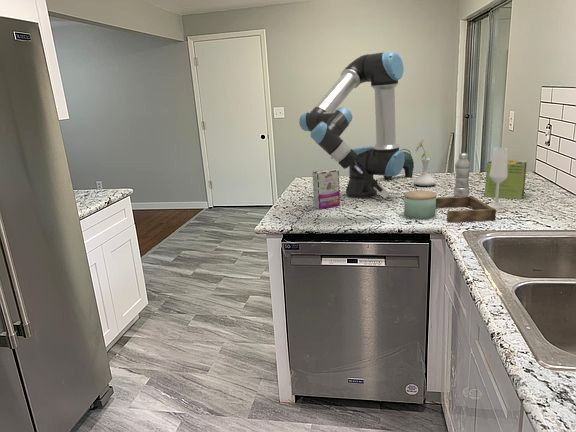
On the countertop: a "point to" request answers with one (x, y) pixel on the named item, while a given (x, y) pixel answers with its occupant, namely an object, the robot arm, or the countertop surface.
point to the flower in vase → (424, 170)
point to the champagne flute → (498, 172)
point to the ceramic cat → (405, 166)
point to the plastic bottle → (462, 176)
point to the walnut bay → (478, 214)
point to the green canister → (420, 204)
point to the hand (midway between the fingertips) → (386, 195)
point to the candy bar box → (326, 188)
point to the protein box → (508, 181)
